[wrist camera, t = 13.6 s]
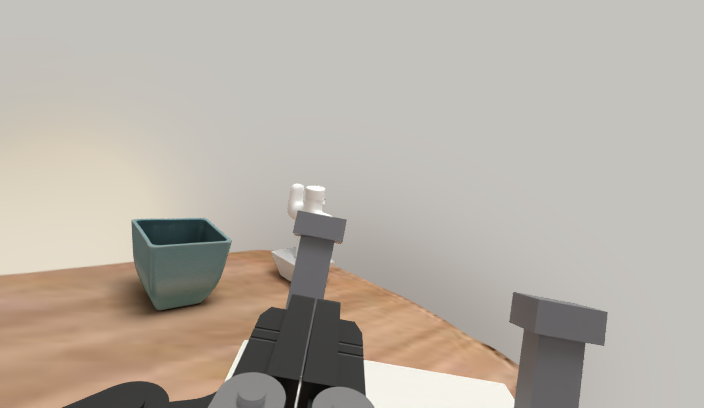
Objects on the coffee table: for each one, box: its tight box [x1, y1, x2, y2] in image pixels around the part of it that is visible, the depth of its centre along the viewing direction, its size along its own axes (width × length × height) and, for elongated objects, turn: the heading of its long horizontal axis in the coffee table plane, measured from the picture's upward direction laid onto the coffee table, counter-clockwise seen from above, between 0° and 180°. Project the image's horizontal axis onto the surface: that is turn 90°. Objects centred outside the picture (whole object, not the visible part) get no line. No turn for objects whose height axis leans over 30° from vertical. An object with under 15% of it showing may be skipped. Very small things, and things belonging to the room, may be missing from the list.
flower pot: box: [132, 218, 232, 310], centre depth 42 cm, size 9×9×9 cm
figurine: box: [271, 184, 335, 282], centre depth 54 cm, size 7×9×15 cm
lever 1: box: [286, 210, 346, 377], centre depth 31 cm, size 4×3×14 cm, turn 91°
